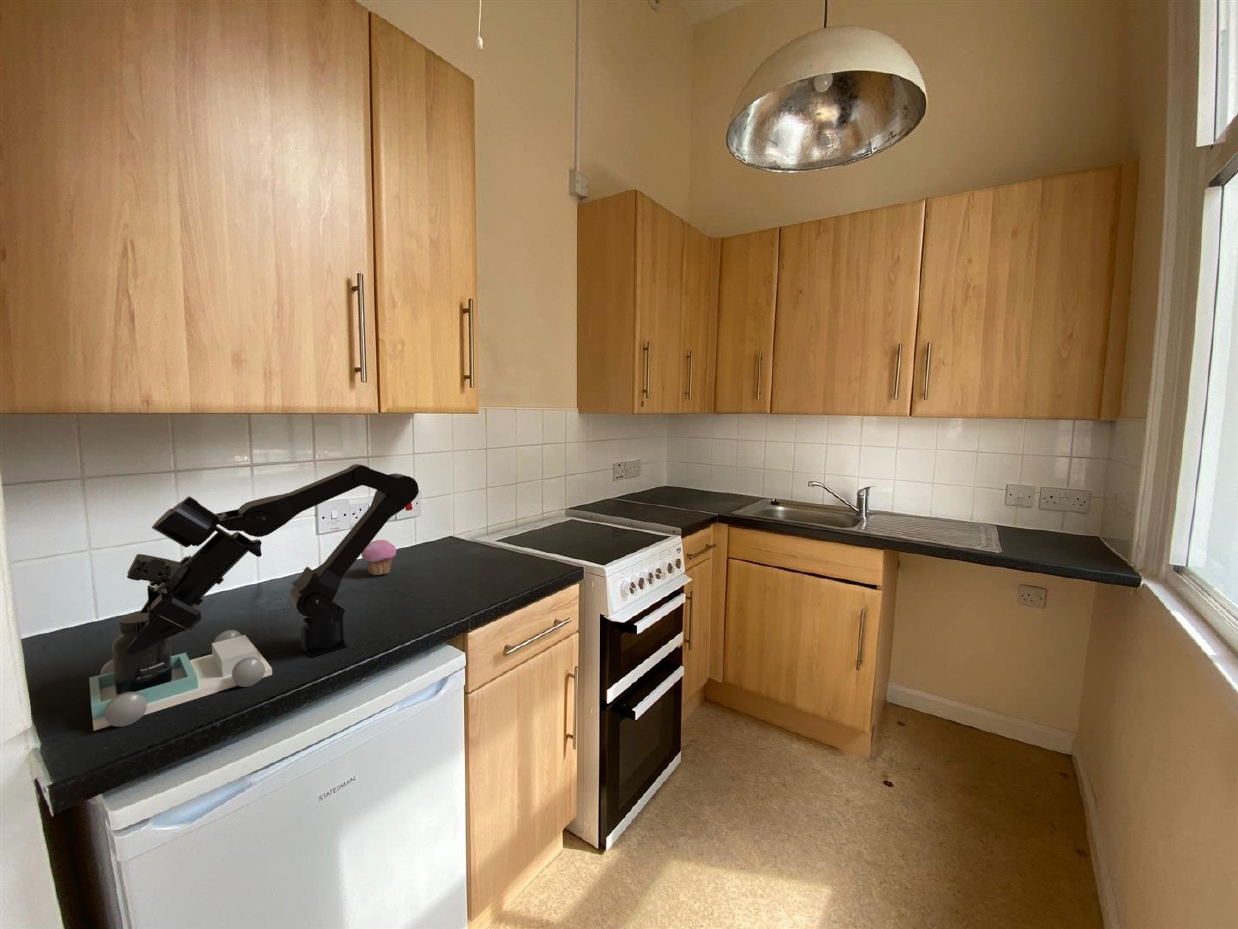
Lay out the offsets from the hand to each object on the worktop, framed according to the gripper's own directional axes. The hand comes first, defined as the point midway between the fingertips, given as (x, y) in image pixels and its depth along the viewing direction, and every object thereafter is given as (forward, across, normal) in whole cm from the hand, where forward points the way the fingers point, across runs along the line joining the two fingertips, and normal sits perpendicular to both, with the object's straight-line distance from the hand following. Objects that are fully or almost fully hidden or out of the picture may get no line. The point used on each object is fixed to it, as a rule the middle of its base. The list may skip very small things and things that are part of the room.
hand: (128, 643), depth 81 cm
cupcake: (-29, -40, +43) cm, 65 cm away
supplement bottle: (+5, 0, +7) cm, 8 cm away
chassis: (+2, 0, +11) cm, 11 cm away
